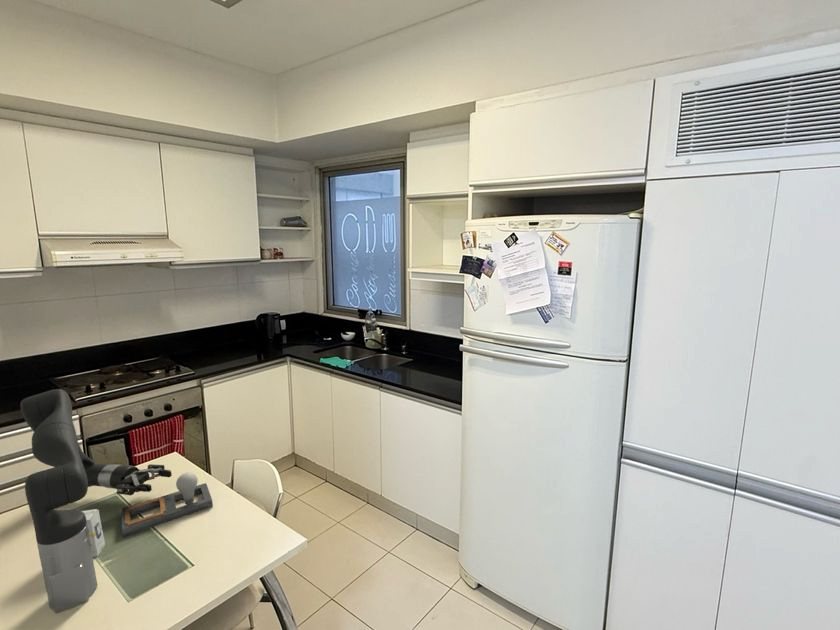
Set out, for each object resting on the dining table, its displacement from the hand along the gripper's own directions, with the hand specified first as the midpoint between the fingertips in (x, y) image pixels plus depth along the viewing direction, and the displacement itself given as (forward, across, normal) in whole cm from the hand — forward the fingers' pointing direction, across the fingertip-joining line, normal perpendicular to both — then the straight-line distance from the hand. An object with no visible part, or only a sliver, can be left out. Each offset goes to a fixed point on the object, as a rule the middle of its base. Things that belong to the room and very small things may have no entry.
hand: (161, 480), depth 140 cm
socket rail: (+5, -4, +8) cm, 10 cm away
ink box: (-4, -25, +8) cm, 26 cm away
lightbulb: (+10, 0, +8) cm, 12 cm away
